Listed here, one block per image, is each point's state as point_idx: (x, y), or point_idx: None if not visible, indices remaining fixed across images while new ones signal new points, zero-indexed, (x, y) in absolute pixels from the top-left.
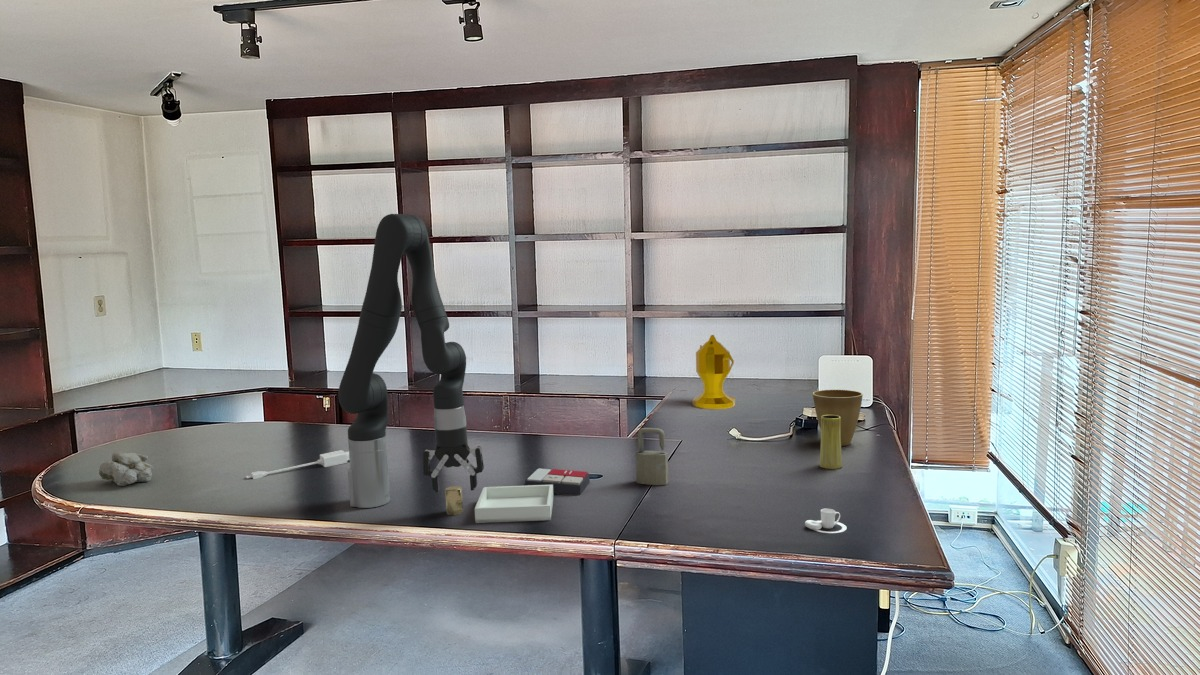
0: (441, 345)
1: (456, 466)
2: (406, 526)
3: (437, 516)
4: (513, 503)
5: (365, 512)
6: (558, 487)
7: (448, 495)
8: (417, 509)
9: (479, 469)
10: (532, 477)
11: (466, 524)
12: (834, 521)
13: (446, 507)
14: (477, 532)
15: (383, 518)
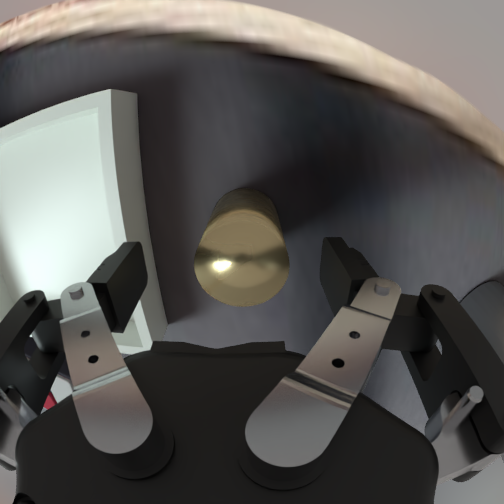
0: None
1: (178, 344)
2: (402, 92)
3: (308, 180)
4: (59, 263)
5: (495, 253)
6: None
7: (264, 219)
8: (384, 265)
9: (26, 298)
10: (64, 388)
11: (169, 79)
12: None
13: (276, 214)
14: (121, 13)
15: (469, 194)
